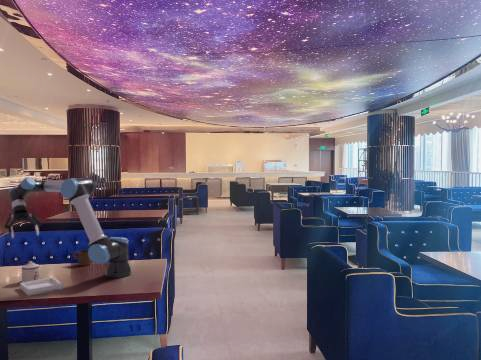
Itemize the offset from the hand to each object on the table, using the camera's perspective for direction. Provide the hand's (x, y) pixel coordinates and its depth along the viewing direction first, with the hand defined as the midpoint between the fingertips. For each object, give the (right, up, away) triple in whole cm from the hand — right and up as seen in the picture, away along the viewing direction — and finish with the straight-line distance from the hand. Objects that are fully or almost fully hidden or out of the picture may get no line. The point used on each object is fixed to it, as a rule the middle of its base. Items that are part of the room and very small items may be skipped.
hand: (25, 235), depth 239 cm
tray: (+20, -26, -22) cm, 40 cm away
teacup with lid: (+7, -26, -7) cm, 28 cm away
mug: (+21, -24, +32) cm, 45 cm away
